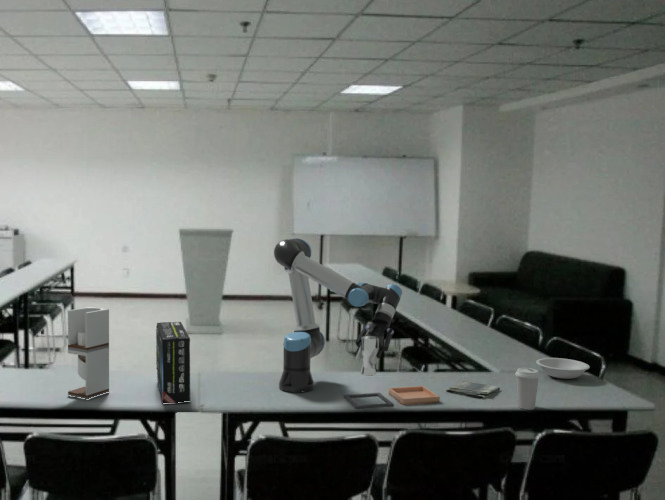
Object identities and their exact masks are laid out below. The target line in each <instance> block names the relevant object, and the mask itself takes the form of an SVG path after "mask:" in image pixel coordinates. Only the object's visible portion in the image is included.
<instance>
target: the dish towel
mask: <svg viewBox="0 0 665 500" xmlns="http://www.w3.org/2000/svg"><path fill="white" fill-rule="evenodd" d="M500 390H501V388H500V387H499V386H496V385H492V384H484V383H478V382H472V381H466V380H465V381H462V382H460V383H458V384H456V385H453V386H451V387H449V388H447V389H445V392H447V393H452V394H456V395H459V396H460V395H461V396H466V397H470V398H475V399H476V398H478V399H481V400H485V399H487V398H488V397H491V396H492V395H494V394H495V392H496V393H497V392H500Z"/></svg>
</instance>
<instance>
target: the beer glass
mask: <svg viewBox="0 0 665 500" xmlns="http://www.w3.org/2000/svg"><path fill="white" fill-rule="evenodd" d="M377 348H378V349H379V337H377V336H366V335H365V336H362V337H361V370H360V371H361V372H360V374H361V375H363V376H367V377H368V376H375V375H376V374H377V372H376V365H375V366H373V364H372V362H371V361H372V358H373V356H374V353H375V351H376V349H377Z"/></svg>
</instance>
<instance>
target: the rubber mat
mask: <svg viewBox="0 0 665 500" xmlns="http://www.w3.org/2000/svg"><path fill="white" fill-rule="evenodd" d="M342 397H343V398H344V399H345V400H346V401H347V402H348V403H349V404H350V405H351V406H352V407H353V408H354V409H356V410H357V409H370V408H373V409H374V408H382V407H383V408H384V407H394V406H395V405H394V403H393V402H392V401H391V400H389V399H388V398H387V396H385V395H383V394H382V393H381V392H370V393H369V392H367V393H355V394H354V393H353V394H343V395H342ZM350 397H351V398H350ZM361 397H362V398H365V397H366V398H367V397H378V398H379V399H381V400H382V401H383V402H384V403H371V404H357V403H356V402H355V400H353V399H352V398H361Z"/></svg>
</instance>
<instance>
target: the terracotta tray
mask: <svg viewBox="0 0 665 500" xmlns="http://www.w3.org/2000/svg"><path fill="white" fill-rule="evenodd" d="M387 394H388V396H391V398H393V399H394V400H395V401H397V402H398V403H399V404H400V405H402V406H410V405H411V406H412V405H424V404H438V403H440V395H437V393H435V392H433V391H432V390H430V389H429V388H427V387H425V386H424V385H416V386H415V385H414V386H402V387H388V391H387Z"/></svg>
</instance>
